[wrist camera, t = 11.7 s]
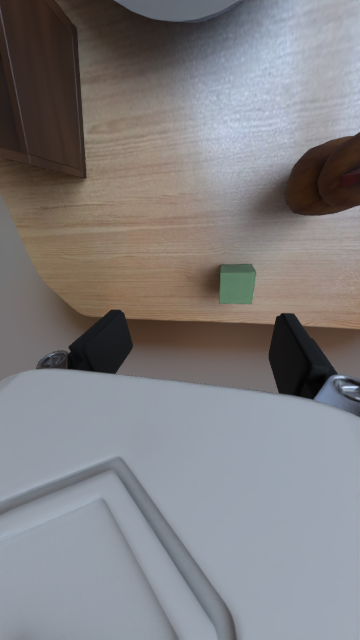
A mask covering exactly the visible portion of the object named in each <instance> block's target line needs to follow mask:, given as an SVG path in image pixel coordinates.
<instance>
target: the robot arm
mask: <svg viewBox="0 0 360 640" xmlns="http://www.w3.org/2000/svg"><path fill="white" fill-rule="evenodd" d="M132 347H133V344H132V340H131V336H130V333H129V329H128V326H127V322H126V318H125V315H124V313H123V312H122V311H121V310H110V311H109V312H108V313H107V314H106V315H105V316H104V317H102V318H101V319H100V320H99V321H98V322H97V323H95V324H94V325H93V326H92V327H91V328H90V329H89V330H87V331H86V332H85V333H84V334H83V335H82V336H81V337H79V338H78V339H77V340H76V341H75V342H73V343H72V344H71V345H70V346H69V349H70V351H71V352H70V353H69V354H68V352H67V351H63V350H62V351H56V352H53V353H50V354H48V355H46V356H45V357H43V358H42V359H41V360H40V361H39V362H38V364H37V367H36V369H35V370H30V371H25V372H21V373H18V374H14V375H12V376H9V377H7V378H5V379H3V380H2V381H0V640H360V379H358V378H355V377H353V376H349V375H344V374H337V372H336V371H335V369H334V368H333V366H332V365H331V363H330V362H329V361H328V359H327V358H326V356H325V355H324V354H323V352H322V351H321V349H320V348H319V346H318V345H317V343H316V342H315V341H314V340H313V339H312V338H310V337H309V335H308V334H307V332H306V331H305V329H304V328H303V326H302V325H301V323H300V322H299V320H298V319H297V317H296V316H295V315H294V314H291V313H282V314H281V315H280V316H277V317H276V321H275V326H274V331H273V336H272V340H271V345H270V350H269V361H270V365H271V368H272V371H273V375H274V378H275V381H276V385H277V388H278V391H279V393H273V392H266V391H259V390H250V389H241V388H233V387H224V386H216V385H207V384H199V383H190V382H182V381H173V380H164V379H156V378H147V377H138V376H129V375H120V374H115V373H116V372H117V370H118V369H119V367H120V366H121V364H122V363H123V362H124V360H125V359H126V357H127V355H128V354H129V353H130V351H131V350H132Z"/></svg>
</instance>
